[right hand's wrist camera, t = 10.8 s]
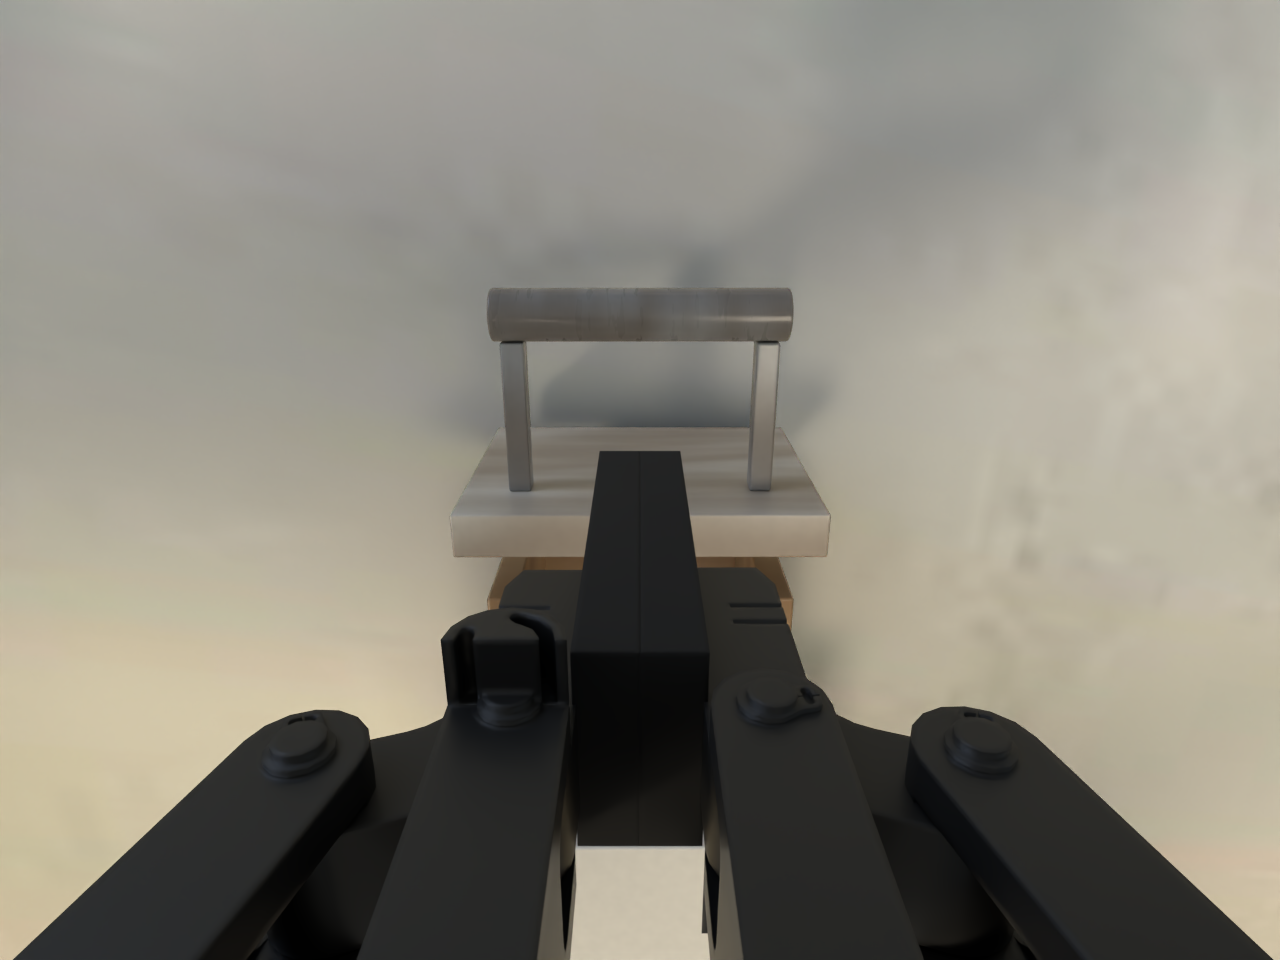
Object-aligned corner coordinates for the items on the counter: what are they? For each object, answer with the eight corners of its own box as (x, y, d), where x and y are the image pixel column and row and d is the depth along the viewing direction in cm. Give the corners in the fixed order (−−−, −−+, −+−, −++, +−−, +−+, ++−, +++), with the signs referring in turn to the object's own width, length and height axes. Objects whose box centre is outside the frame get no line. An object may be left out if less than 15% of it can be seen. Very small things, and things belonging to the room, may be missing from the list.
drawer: (487, 264, 25) (427, 299, 18) (792, 264, 25) (852, 299, 18) (525, 818, 33) (495, 989, 26) (754, 818, 33) (785, 989, 26)
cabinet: (504, 662, 31) (452, 848, 22) (776, 662, 31) (828, 848, 22) (528, 983, 38) (495, 1222, 29) (752, 983, 38) (785, 1221, 29)
